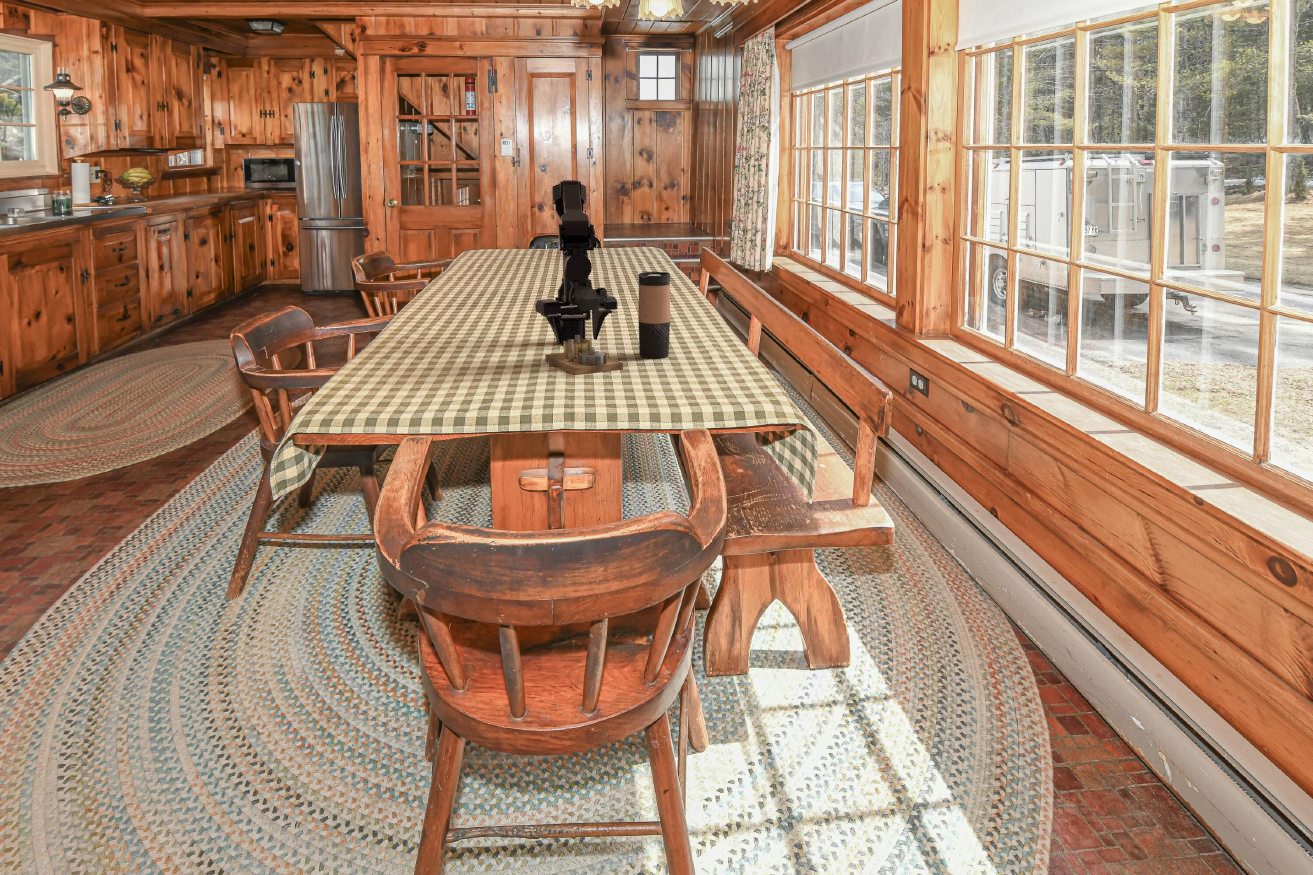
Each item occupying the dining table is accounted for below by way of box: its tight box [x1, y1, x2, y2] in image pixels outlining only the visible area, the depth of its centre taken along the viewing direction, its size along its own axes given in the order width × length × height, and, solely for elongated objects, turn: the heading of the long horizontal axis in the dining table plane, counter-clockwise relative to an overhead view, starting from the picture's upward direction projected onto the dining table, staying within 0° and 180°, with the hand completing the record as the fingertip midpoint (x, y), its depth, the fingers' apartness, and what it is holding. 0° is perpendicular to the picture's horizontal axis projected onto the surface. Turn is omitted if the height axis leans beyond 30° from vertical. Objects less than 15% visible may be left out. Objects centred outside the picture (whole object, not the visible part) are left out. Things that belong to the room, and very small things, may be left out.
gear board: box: [544, 335, 624, 376], centre depth 223 cm, size 12×17×6 cm
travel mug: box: [637, 271, 671, 360], centre depth 231 cm, size 8×8×20 cm
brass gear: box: [563, 339, 593, 359], centre depth 226 cm, size 7×7×4 cm
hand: (577, 341), depth 225 cm, fingers open, 9 cm apart
